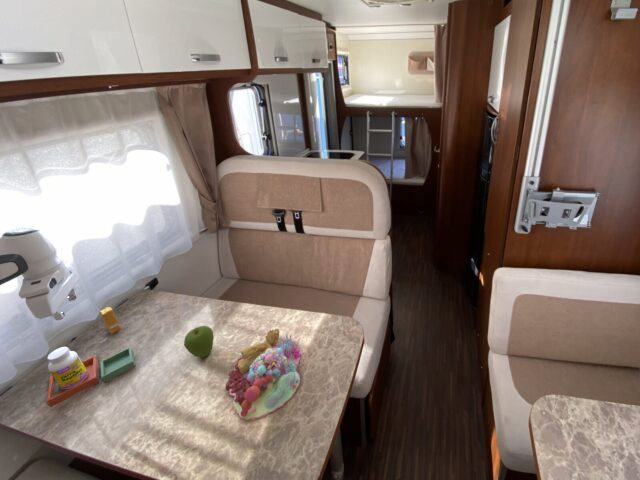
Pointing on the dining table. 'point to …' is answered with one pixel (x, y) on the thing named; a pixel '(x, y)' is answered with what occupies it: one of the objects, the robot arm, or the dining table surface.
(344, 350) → the dining table surface
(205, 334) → the apple
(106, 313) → the supplement box
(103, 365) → the sage tray
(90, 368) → the terracotta tray
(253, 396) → the candy landscape model
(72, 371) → the supplement bottle
